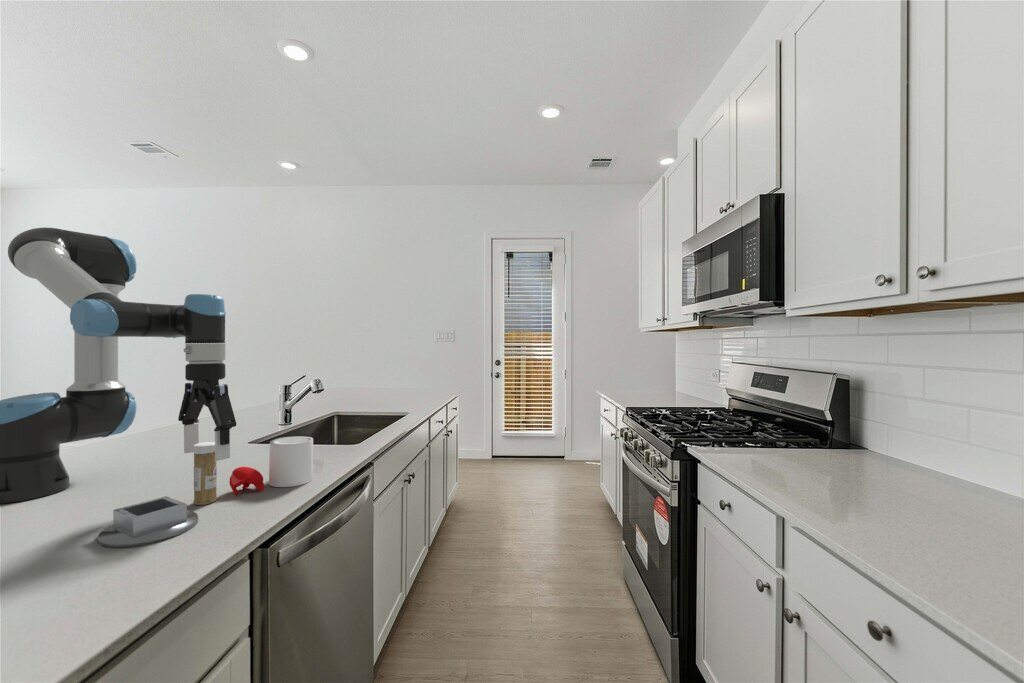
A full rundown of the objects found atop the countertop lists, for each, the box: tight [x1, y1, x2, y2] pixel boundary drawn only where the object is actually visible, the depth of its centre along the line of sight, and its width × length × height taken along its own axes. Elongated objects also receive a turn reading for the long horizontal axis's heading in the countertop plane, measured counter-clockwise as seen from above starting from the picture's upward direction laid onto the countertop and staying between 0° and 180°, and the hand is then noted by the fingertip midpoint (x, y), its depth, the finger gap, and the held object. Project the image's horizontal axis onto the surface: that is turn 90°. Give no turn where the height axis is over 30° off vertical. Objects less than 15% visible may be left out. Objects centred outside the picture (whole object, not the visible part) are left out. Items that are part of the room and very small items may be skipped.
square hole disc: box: [97, 495, 199, 549], centre depth 86 cm, size 15×15×4 cm
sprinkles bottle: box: [192, 441, 218, 506], centre depth 101 cm, size 5×5×14 cm
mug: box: [268, 436, 314, 488], centre depth 118 cm, size 14×10×11 cm
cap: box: [228, 466, 265, 496], centre depth 108 cm, size 8×6×6 cm
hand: (206, 455), depth 101 cm, fingers open, 13 cm apart
